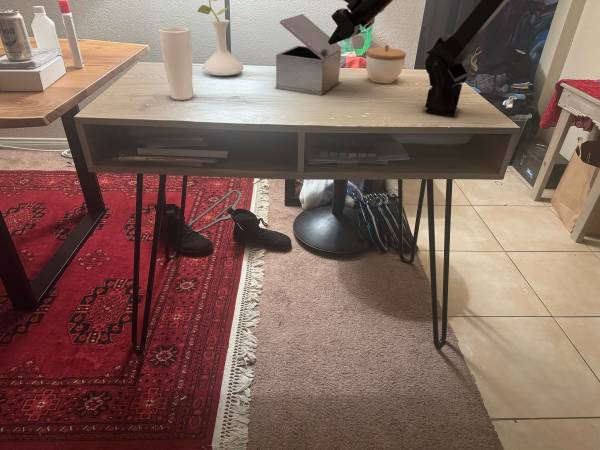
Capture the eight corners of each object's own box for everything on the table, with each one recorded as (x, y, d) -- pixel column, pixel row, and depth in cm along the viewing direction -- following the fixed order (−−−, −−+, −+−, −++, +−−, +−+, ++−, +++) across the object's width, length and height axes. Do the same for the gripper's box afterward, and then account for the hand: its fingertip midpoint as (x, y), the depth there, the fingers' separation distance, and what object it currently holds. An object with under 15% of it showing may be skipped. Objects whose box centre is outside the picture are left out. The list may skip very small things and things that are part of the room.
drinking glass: (181, 91, 106) (174, 25, 98) (202, 96, 103) (196, 29, 95) (161, 98, 101) (151, 29, 93) (182, 103, 98) (174, 33, 90)
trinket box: (402, 87, 116) (408, 50, 111) (362, 84, 117) (366, 47, 112) (400, 77, 125) (406, 42, 120) (363, 74, 126) (367, 40, 121)
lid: (279, 23, 103) (280, 20, 102) (301, 16, 113) (302, 13, 113) (322, 60, 103) (324, 57, 103) (340, 50, 114) (342, 47, 113)
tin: (276, 88, 111) (276, 54, 107) (296, 76, 122) (297, 45, 117) (321, 95, 108) (323, 60, 103) (338, 82, 118) (341, 50, 114)
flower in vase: (251, 72, 124) (248, -28, 110) (228, 81, 115) (221, -26, 102) (215, 66, 129) (207, -31, 115) (190, 74, 120) (179, -29, 107)
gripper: (367, -35, 104) (322, 12, 113) (344, -33, 89) (294, 20, 99) (395, 4, 105) (348, 47, 115) (376, 12, 91) (324, 60, 100)
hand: (329, 43), depth 107 cm, fingers closed
